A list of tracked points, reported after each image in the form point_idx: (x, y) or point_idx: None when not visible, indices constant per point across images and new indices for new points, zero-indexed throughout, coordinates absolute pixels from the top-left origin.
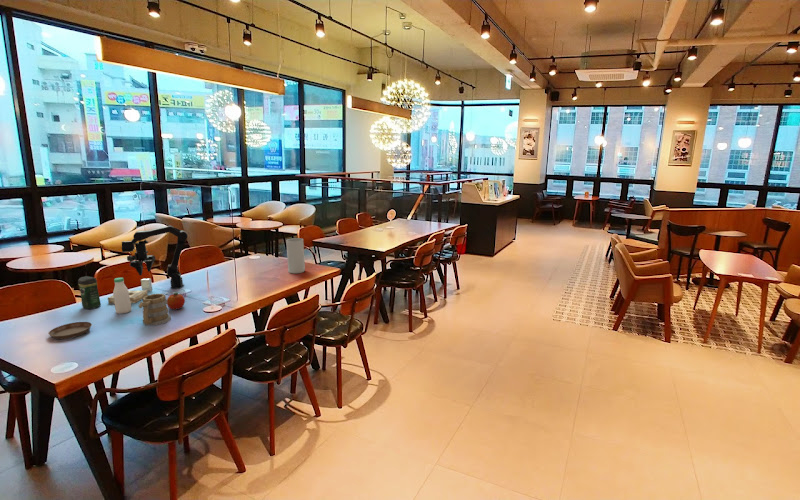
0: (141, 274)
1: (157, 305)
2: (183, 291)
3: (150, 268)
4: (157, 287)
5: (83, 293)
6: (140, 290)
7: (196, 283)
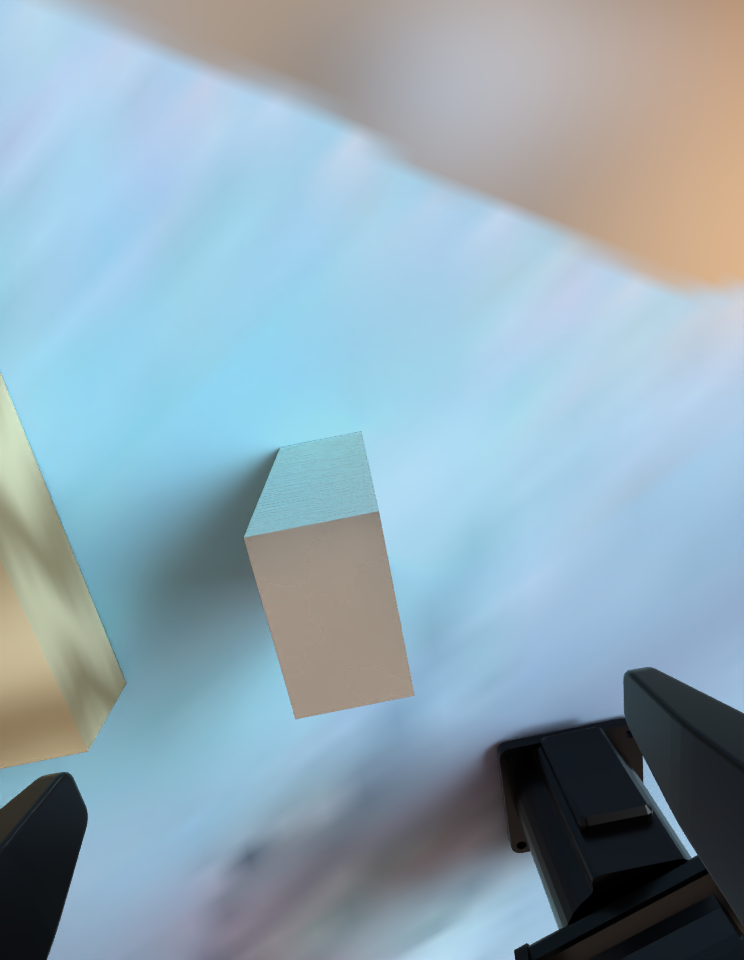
0: (45, 877)
1: None
2: (396, 942)
3: (727, 876)
4: (523, 534)
5: None
6: (41, 649)
7: None
